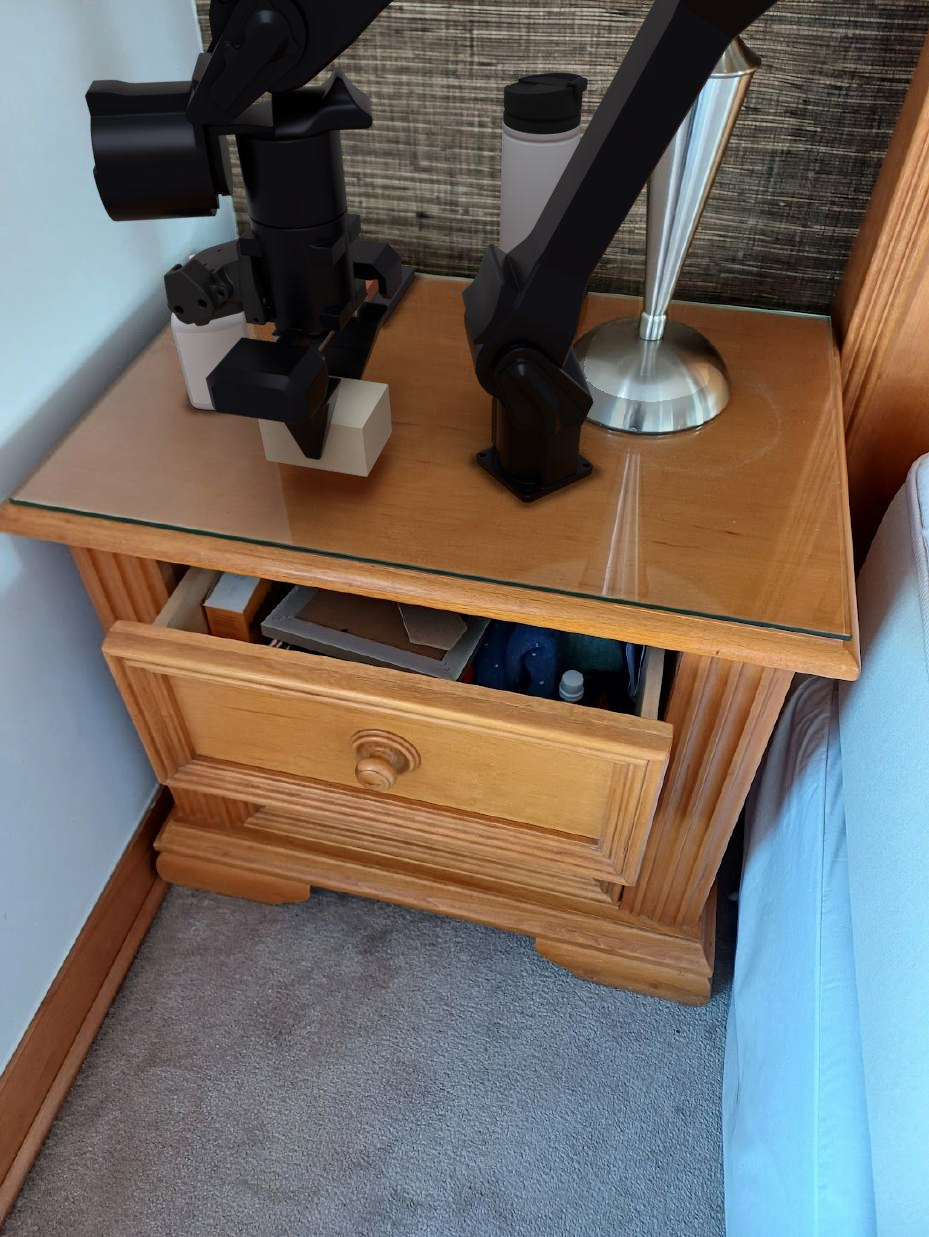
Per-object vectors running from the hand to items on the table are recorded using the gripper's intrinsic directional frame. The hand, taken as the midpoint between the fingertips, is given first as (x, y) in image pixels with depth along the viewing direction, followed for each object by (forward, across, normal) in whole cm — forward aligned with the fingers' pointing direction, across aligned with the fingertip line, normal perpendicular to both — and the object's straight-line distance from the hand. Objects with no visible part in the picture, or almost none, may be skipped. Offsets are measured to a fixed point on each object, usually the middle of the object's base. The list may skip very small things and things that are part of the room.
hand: (329, 433), depth 64 cm
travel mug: (+4, -28, +9) cm, 30 cm away
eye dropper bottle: (+4, -8, -13) cm, 16 cm away
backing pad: (+4, -28, -12) cm, 30 cm away
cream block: (+1, 0, 0) cm, 1 cm away
